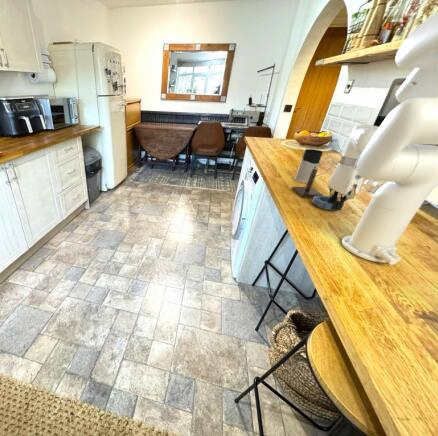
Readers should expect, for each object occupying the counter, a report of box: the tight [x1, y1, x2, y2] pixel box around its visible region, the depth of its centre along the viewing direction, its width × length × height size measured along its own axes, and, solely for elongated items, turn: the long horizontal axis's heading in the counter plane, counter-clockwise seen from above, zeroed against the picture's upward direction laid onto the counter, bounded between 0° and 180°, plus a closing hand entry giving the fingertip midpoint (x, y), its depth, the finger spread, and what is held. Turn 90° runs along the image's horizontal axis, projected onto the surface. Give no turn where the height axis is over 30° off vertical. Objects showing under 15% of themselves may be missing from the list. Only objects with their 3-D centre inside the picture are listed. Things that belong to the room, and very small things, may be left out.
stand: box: [291, 168, 324, 199], centre depth 107 cm, size 9×9×12 cm
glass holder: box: [293, 148, 335, 184], centre depth 119 cm, size 9×14×15 cm, turn 38°
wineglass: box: [361, 179, 383, 193], centre depth 112 cm, size 7×7×12 cm
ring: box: [312, 194, 345, 210], centre depth 97 cm, size 10×10×2 cm
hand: (333, 207), depth 94 cm, fingers closed on ring, 2 cm apart
